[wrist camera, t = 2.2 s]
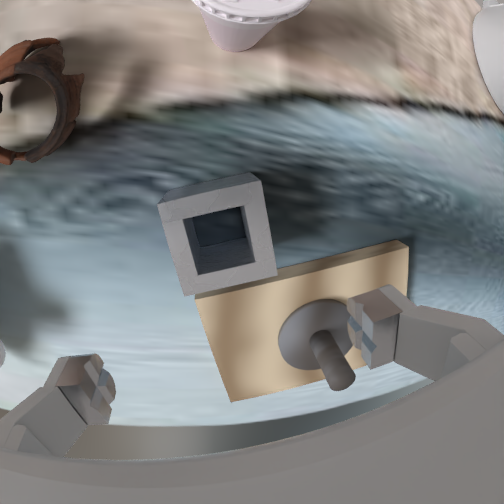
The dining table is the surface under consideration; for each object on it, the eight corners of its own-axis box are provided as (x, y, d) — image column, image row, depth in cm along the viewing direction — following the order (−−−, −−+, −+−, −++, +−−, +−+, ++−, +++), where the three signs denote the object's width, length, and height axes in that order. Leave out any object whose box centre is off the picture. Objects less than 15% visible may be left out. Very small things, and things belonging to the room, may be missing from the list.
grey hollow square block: (249, 171, 21) (260, 180, 17) (264, 248, 24) (277, 275, 19) (168, 190, 21) (157, 204, 16) (188, 265, 23) (184, 296, 19)
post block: (396, 239, 25) (453, 276, 18) (391, 341, 29) (428, 388, 22) (195, 287, 24) (191, 350, 16) (229, 387, 28) (236, 451, 21)
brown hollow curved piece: (93, 23, 16) (77, 29, 11) (96, 123, 22) (87, 168, 17) (-30, 59, 11) (-79, 89, 6) (-14, 149, 18) (-47, 202, 13)
